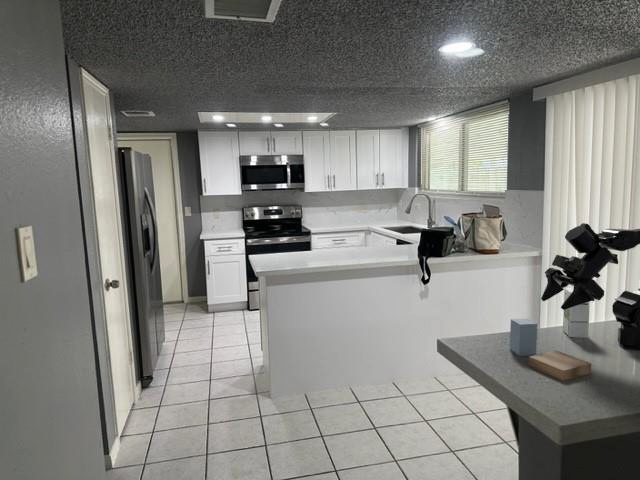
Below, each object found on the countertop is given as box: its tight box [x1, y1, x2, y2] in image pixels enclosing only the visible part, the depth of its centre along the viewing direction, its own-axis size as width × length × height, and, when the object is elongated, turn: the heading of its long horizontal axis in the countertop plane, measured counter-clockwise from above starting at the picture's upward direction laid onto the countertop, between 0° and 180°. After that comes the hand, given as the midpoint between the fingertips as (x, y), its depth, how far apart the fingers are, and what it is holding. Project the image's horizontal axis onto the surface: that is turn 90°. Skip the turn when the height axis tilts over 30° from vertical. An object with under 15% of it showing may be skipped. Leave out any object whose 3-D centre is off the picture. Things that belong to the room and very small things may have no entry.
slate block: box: [509, 317, 538, 357], centre depth 124 cm, size 5×5×9 cm
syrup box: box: [562, 287, 590, 339], centre depth 137 cm, size 6×6×14 cm
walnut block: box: [528, 350, 592, 382], centre depth 112 cm, size 10×10×3 cm
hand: (551, 304), depth 124 cm, fingers open, 9 cm apart
